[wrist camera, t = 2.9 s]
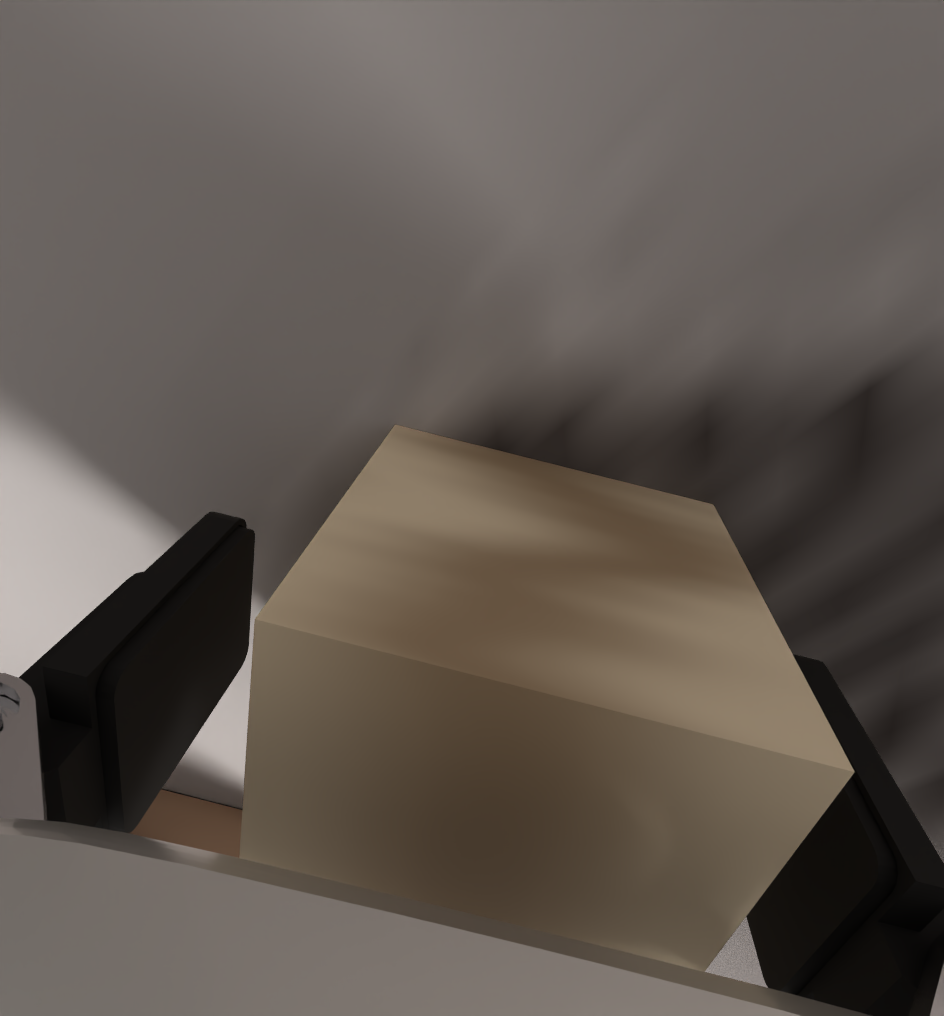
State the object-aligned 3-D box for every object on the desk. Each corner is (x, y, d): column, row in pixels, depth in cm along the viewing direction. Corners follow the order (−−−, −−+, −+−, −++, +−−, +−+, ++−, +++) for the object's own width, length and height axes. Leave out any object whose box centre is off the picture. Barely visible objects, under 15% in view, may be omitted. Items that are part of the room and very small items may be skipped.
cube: (712, 502, 11) (854, 771, 6) (609, 729, 14) (642, 1053, 9) (396, 422, 11) (254, 619, 6) (355, 664, 14) (233, 947, 9)
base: (326, 831, 17) (239, 1072, 12) (288, 1060, 23) (222, 1274, 19) (-166, 705, 17) (-439, 896, 12) (-68, 968, 23) (-222, 1158, 19)
